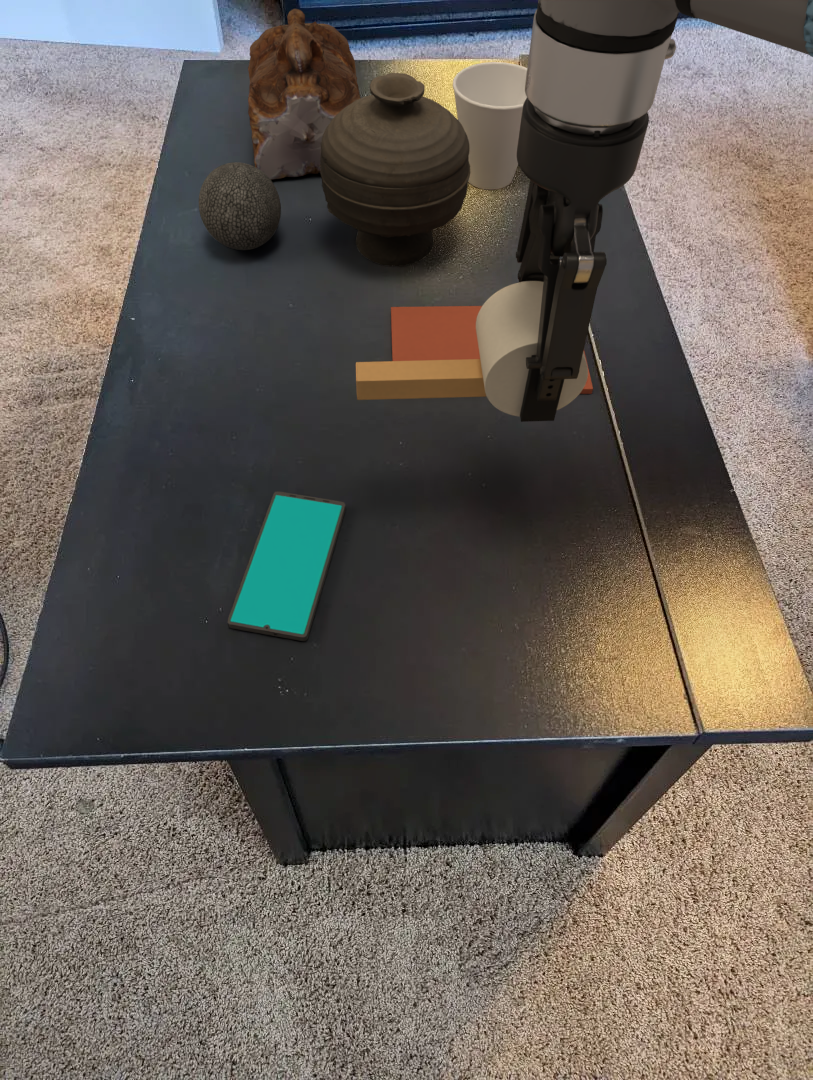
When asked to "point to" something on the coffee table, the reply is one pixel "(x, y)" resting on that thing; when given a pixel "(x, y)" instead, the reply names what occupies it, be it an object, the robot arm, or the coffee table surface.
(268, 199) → the decorative ball
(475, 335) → the mat
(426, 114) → the pot
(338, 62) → the sculpture
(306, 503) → the smartphone
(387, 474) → the coffee table surface
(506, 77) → the cup
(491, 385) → the mallet
